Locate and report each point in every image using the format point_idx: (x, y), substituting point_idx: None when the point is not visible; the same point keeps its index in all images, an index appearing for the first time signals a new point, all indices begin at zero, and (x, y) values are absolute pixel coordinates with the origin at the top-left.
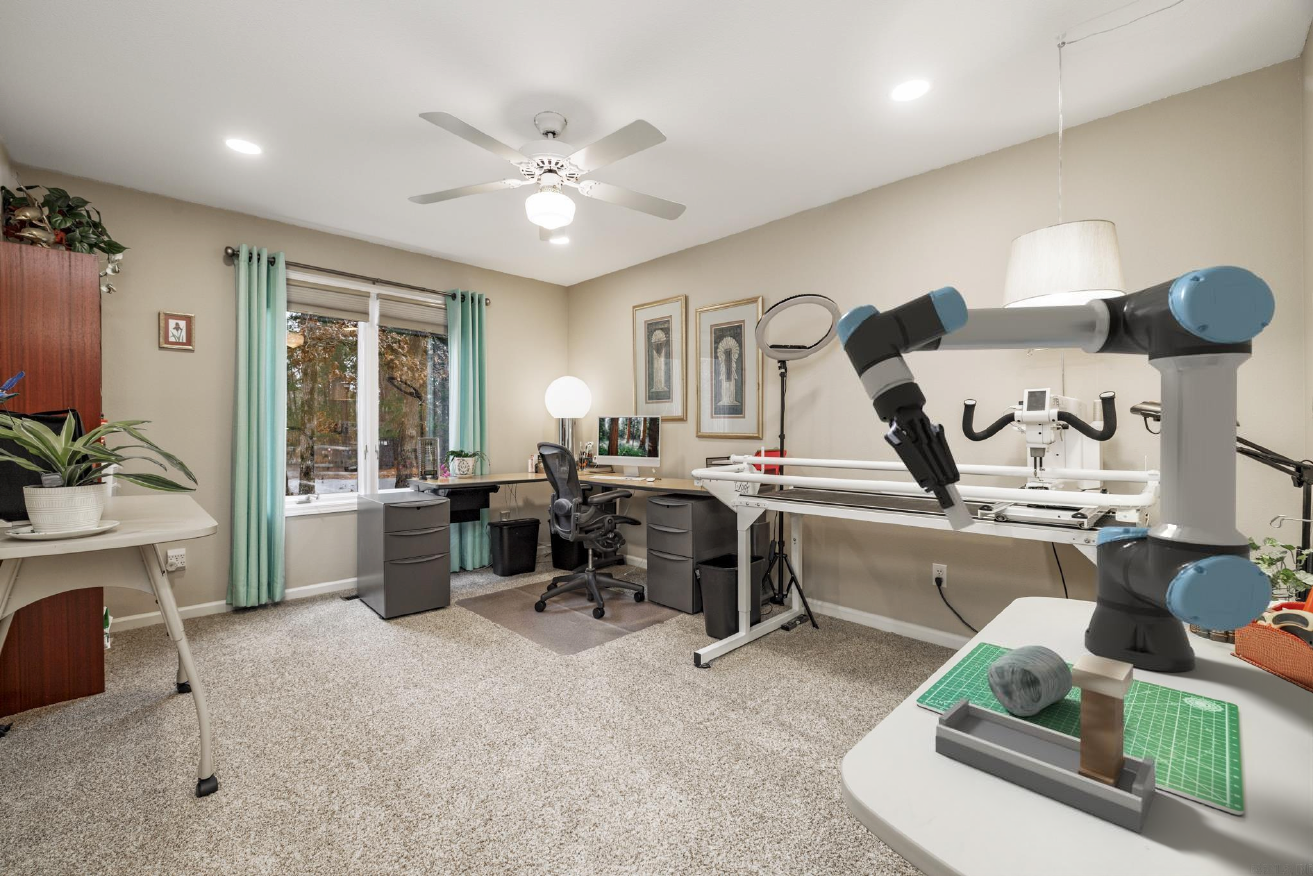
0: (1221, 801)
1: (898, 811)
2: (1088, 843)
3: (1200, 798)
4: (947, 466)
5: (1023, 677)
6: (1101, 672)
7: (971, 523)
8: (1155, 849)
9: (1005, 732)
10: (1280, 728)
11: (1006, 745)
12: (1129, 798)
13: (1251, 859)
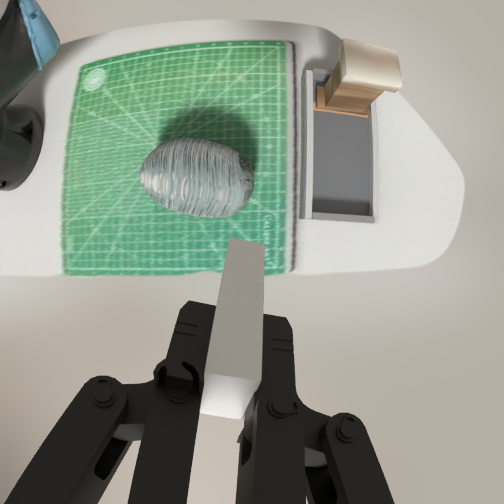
0: (280, 49)
1: (450, 217)
2: (401, 114)
3: (286, 58)
4: (146, 465)
5: (247, 169)
6: (392, 63)
7: (252, 243)
8: None
9: (324, 174)
10: (112, 39)
11: (347, 168)
12: None
13: None
